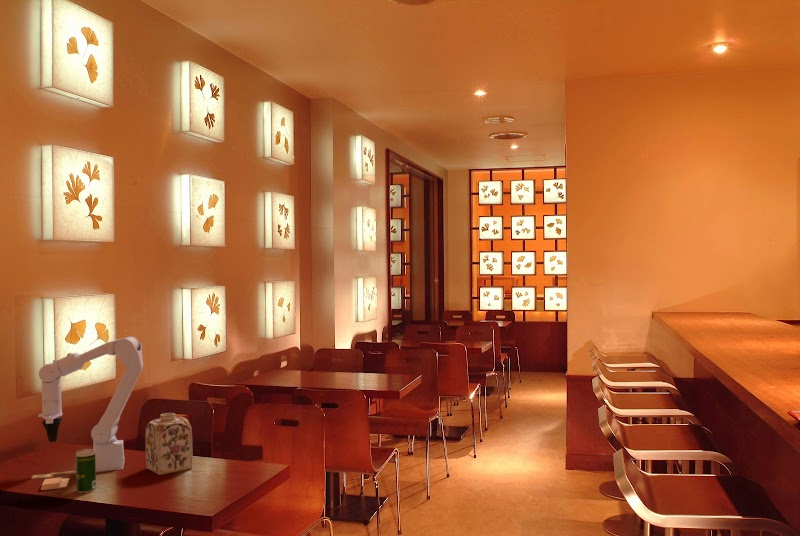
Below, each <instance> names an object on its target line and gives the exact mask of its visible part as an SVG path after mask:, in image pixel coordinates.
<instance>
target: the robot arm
mask: <svg viewBox="0 0 800 536" xmlns="http://www.w3.org/2000/svg"><path fill="white" fill-rule="evenodd" d="M142 351H143V346H142V344H141V343H140V341H139V340H138V338H137V337H135V336H130V335H129V336H126V337H123V338H119V339H118V338H117V339H115V340H110V341H108V342H105V343H103V344H101V345H99V346H97V347H95V348H92V349H90V350H88V351H86V352H82V354H81V353H78V352H69V353H66V356H63V357H61V358H59V359H54V360H52V362H50V363H45V364H44V365H43V366H42V367H41V368H40V369H39V370H38V376H39V379H40V380H41V405H42V407H41V408H42V409H41V411H42V413H39V414H38V416H37V417H38V418H42V419H44V420H42V422H41V423H42V426H43V427H44V429H45V431H46V435H47V438H48V443H54V442H57V440H58V438H59V436H58V435H59V429H60V426H61V423H62V421H63V418H62V417H63V411H62V410H63V407H62V403H63V402H62V384H61V382H62V381H61V378H62V377H66V376H68V375H70V374H72V373H75V372H77V371H80V370H81V369H83V368H84V365H85V364H86V363H88V362H90V361H93V360H95V359H98V358H101V357H103V356H106V355H108V356H115V355H116V356H117V357H118V359H120V360H121V361H122V362H123V365H124V367H125V371H124V372H123V374H122V376H121V378H120V381H119V383H118V385H117V387H116V389H115V392H114V393H113V395H112V398H111V400H110V402H109V404H108V406H107V408H106V410H105V412H104V413H103V415H102V416H101V418H100V419H99V422H98V423H97V424H96V425H94V426H93V427H92V429H91V433H90V437H91V439H92V440H93V444H92V445H93V448H92V449H94V450H95V451H94V452H95V455H96V473H99V472H108V471H117V470H123V469H124V466H125V462H126V461H125V458H126V457H125V453H124V452H125V451H124V450H125V449H124V440H123V439H120V440H119V439H118V438H117V437H116V434H117V432H118V431H119V429H118V428H119V425H118V424H119V421H120V419H121V415H122V413H123V410H124V408H125V407H126V404H127V402H128V400H129V399H130V396H131V394H132V392H133V390H134V387H135V386H136V384H137V381H138V380H139V377H140V376H141V373H142V371H143V370H144V369H143V368H144V359H143V352H142ZM61 416H62V417H61Z"/></svg>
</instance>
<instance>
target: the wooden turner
mask: <svg viewBox="0 0 800 536" xmlns="http://www.w3.org/2000/svg"><path fill="white" fill-rule="evenodd" d="M67 475H68V476H69V475H76V470H70V471H60V472H58V471H57V472H51V473H44V474H43V473H42V474H36V475H35V474H33V475H32V476H31V479H30V480H38V479H50V478H54V477H58V476H59V477H60V476H67Z"/></svg>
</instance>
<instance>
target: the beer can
mask: <svg viewBox="0 0 800 536" xmlns="http://www.w3.org/2000/svg"><path fill="white" fill-rule="evenodd" d="M94 451H95V450H94V449H93V448H84V449H80V450H77V451H76V452H75V453H76V454H75V476H76V477H75V479H76V483H75V484H76V491H77V493H78V494H87V493H92V492H94V491H96V489H97V472H96V455H95V452H94Z"/></svg>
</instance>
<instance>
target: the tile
mask: <svg viewBox="0 0 800 536" xmlns="http://www.w3.org/2000/svg"><path fill="white" fill-rule="evenodd" d="M62 479H63V477H62V476H61V477H50V478H44V480H43V482H42V484H41V488H42V491H47V490H48V491H49V490H56V489H61V488H62V487H61V484H62Z"/></svg>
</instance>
